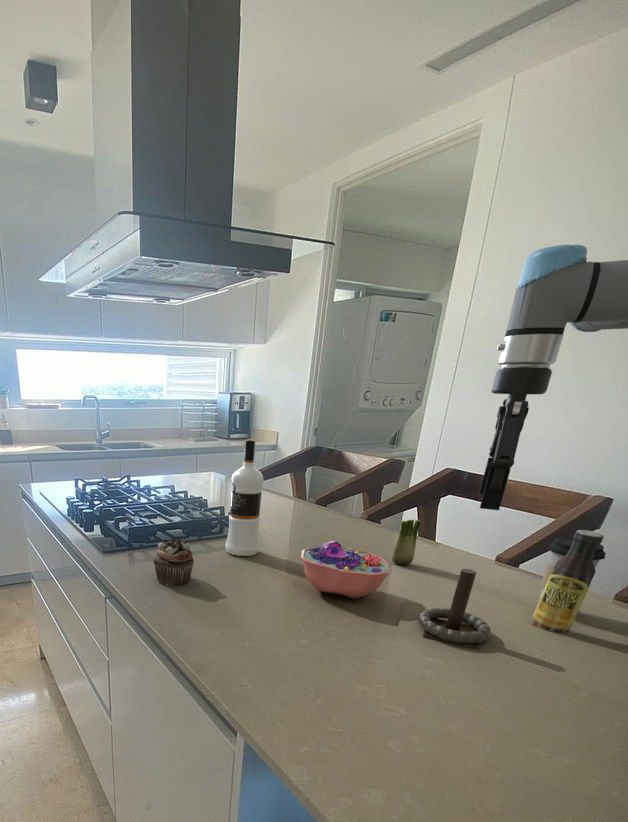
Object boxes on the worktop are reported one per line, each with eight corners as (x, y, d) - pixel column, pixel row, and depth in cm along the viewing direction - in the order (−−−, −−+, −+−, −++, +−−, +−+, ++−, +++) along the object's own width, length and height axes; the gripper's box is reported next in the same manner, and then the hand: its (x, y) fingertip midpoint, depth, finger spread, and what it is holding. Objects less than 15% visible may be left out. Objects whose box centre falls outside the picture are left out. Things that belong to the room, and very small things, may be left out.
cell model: (353, 618, 99) (363, 565, 94) (280, 586, 113) (285, 539, 108) (400, 599, 108) (411, 550, 103) (326, 572, 122) (333, 528, 118)
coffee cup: (535, 615, 101) (560, 546, 95) (522, 598, 109) (544, 534, 103) (589, 622, 99) (618, 552, 92) (571, 604, 107) (597, 539, 101)
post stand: (477, 634, 93) (497, 568, 88) (477, 654, 86) (499, 584, 80) (425, 623, 97) (442, 559, 92) (421, 641, 90) (439, 573, 84)
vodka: (262, 557, 132) (272, 442, 120) (228, 557, 131) (235, 441, 119) (254, 546, 140) (263, 438, 128) (222, 547, 139) (229, 437, 127)
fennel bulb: (410, 561, 131) (420, 517, 126) (415, 567, 127) (426, 522, 122) (387, 560, 132) (396, 516, 127) (392, 566, 127) (402, 521, 122)
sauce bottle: (525, 628, 96) (559, 530, 87) (535, 619, 99) (569, 525, 91) (564, 641, 91) (605, 539, 83) (574, 631, 95) (613, 533, 87)
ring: (487, 624, 94) (490, 615, 93) (490, 651, 84) (493, 641, 83) (419, 610, 99) (421, 601, 98) (414, 635, 89) (417, 625, 88)
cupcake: (201, 579, 116) (203, 539, 112) (173, 590, 110) (174, 548, 106) (173, 569, 122) (173, 530, 118) (144, 579, 116) (144, 539, 112)
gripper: (494, 369, 88) (465, 487, 97) (500, 364, 68) (462, 513, 77) (544, 369, 85) (509, 491, 93) (565, 363, 65) (518, 519, 74)
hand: (488, 501), depth 85 cm, fingers open, 13 cm apart
